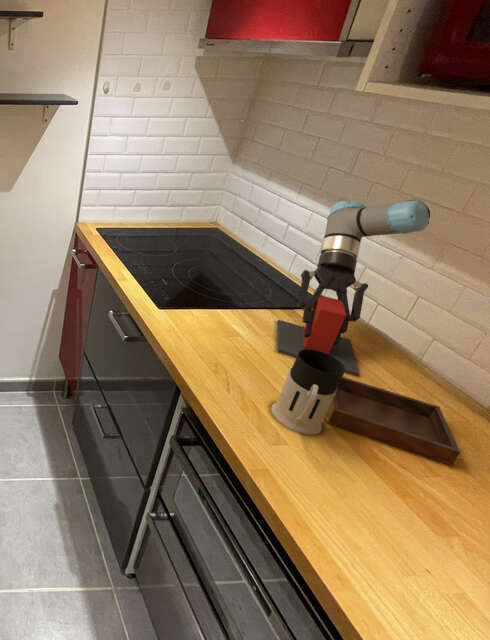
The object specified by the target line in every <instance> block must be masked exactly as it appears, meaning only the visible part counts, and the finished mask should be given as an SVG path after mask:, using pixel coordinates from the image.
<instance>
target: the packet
mask: <svg viewBox="0 0 490 640" xmlns="http://www.w3.org/2000/svg"><path fill="white" fill-rule="evenodd" d="M312 310H313V311H315V316H314V321H313V325H312V330H311V335H310V336H309V337H304V333H305V329H306V324H307V323H305V325H304V327H305V328H304V330H303V343H304V349H312V350H317V351H321V352H324V353H326V354H328V355H329V353H330V351H331V348H332V346H333V344H334V342H335V339H336V337H337V335H338V333H339V331H340V329H341V326H342V324H343V322H344V320H345V318H346V312H345V308H344V305H343V302H341V300H338V298H333V297H328V296H325V295H322V294H321V295H320V297H318V300H317V302H316V304H315V305H314V307H313V308H312Z"/></svg>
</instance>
